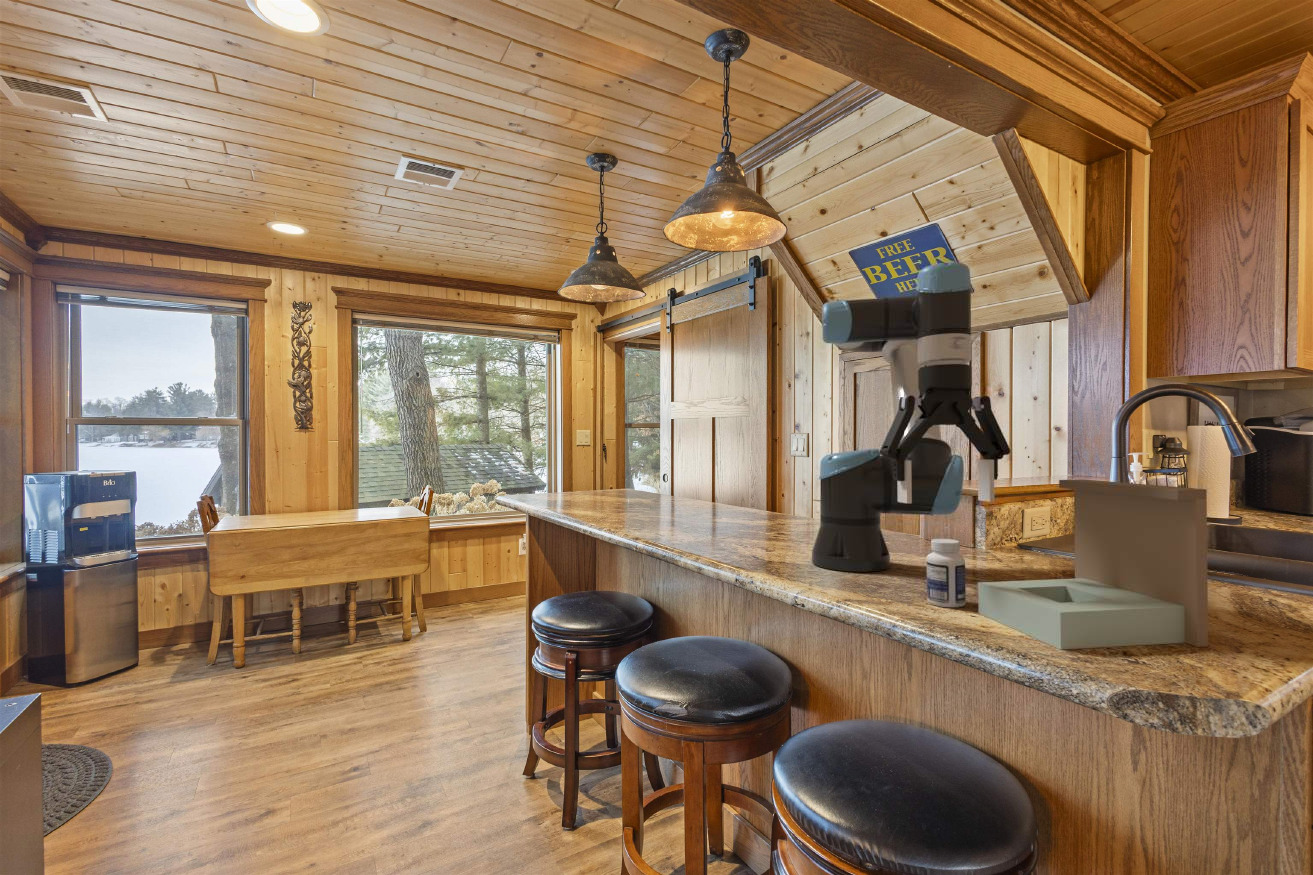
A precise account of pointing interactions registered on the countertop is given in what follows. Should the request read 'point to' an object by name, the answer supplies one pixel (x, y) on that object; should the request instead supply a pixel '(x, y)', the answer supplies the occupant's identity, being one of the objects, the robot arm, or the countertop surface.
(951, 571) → the pill bottle
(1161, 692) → the countertop surface
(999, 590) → the socket stand
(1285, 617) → the countertop surface
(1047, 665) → the countertop surface
